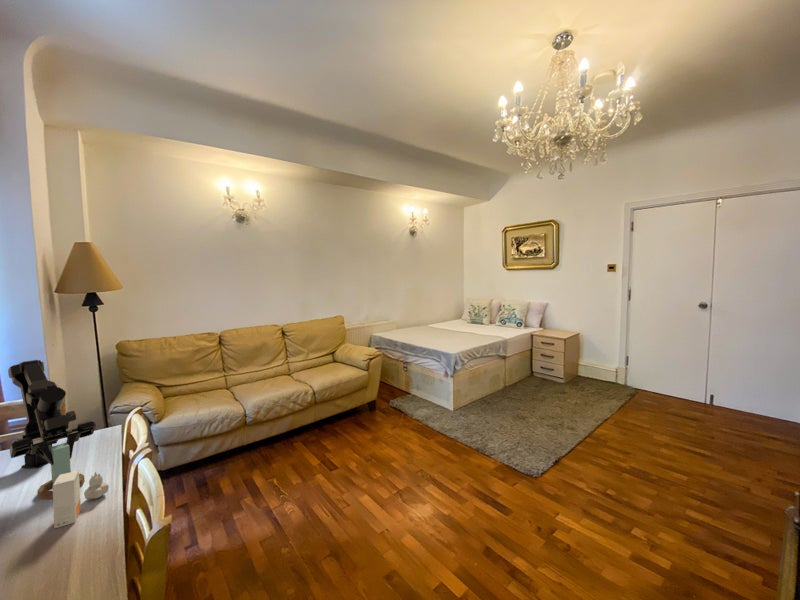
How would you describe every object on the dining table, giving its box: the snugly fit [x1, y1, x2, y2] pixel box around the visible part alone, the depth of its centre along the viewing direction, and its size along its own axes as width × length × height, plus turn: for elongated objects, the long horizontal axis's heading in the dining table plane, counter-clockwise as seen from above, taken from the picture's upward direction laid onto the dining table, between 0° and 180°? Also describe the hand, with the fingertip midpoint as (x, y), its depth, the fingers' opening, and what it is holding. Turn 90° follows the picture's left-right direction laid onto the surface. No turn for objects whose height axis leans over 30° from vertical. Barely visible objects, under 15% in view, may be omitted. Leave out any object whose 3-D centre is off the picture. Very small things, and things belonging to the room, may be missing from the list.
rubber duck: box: [83, 471, 109, 500], centre depth 99 cm, size 5×7×8 cm
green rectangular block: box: [50, 442, 72, 483], centre depth 103 cm, size 4×4×11 cm
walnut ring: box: [36, 473, 85, 500], centre depth 104 cm, size 10×10×2 cm
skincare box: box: [52, 470, 82, 529], centre depth 90 cm, size 6×4×12 cm
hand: (61, 461), depth 103 cm, fingers closed on green rectangular block, 4 cm apart
